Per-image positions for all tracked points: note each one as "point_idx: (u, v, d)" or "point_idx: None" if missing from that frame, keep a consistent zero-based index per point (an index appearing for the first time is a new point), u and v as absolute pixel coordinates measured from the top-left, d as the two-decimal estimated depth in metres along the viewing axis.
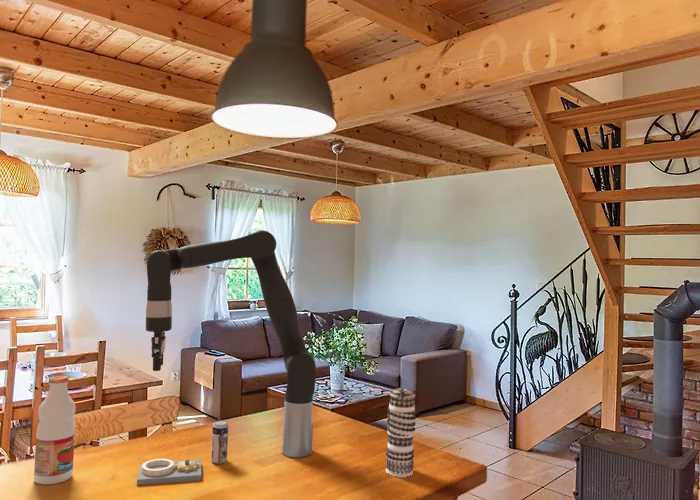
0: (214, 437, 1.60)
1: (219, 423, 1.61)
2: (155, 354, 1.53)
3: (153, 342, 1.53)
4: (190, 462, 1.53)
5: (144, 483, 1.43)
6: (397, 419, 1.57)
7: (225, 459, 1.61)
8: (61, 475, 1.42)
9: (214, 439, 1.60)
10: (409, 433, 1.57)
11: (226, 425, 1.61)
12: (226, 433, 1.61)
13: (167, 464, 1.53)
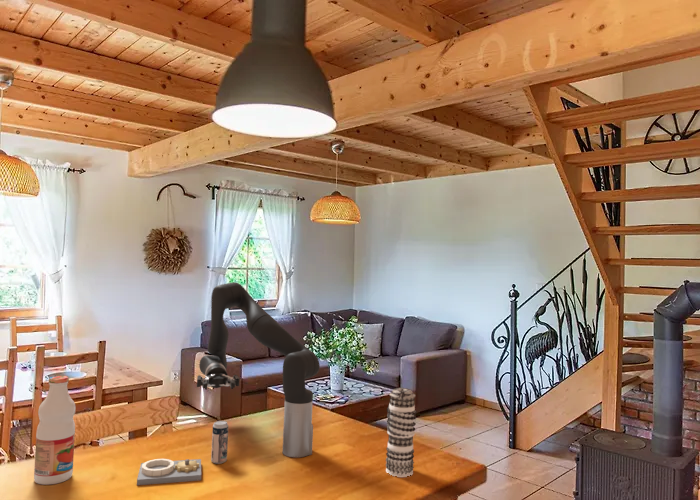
0: (214, 437, 1.60)
1: (219, 423, 1.61)
2: None
3: None
4: (190, 462, 1.53)
5: (144, 483, 1.43)
6: (397, 419, 1.57)
7: (225, 459, 1.61)
8: (61, 475, 1.42)
9: (214, 439, 1.60)
10: (409, 433, 1.57)
11: (226, 425, 1.61)
12: (226, 433, 1.61)
13: (167, 464, 1.53)
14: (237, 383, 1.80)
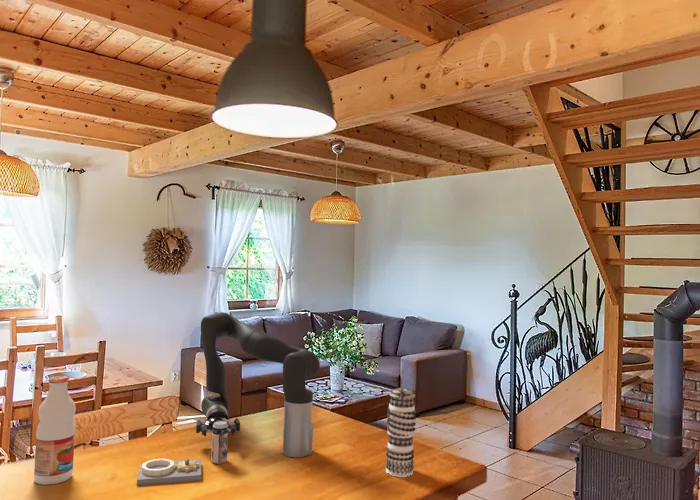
0: (214, 437, 1.60)
1: (219, 423, 1.61)
2: None
3: None
4: (190, 462, 1.53)
5: (144, 483, 1.43)
6: (397, 419, 1.57)
7: (225, 459, 1.61)
8: (61, 475, 1.42)
9: (214, 439, 1.60)
10: (409, 433, 1.57)
11: (226, 425, 1.61)
12: (226, 433, 1.61)
13: (167, 464, 1.53)
14: (238, 428, 1.74)
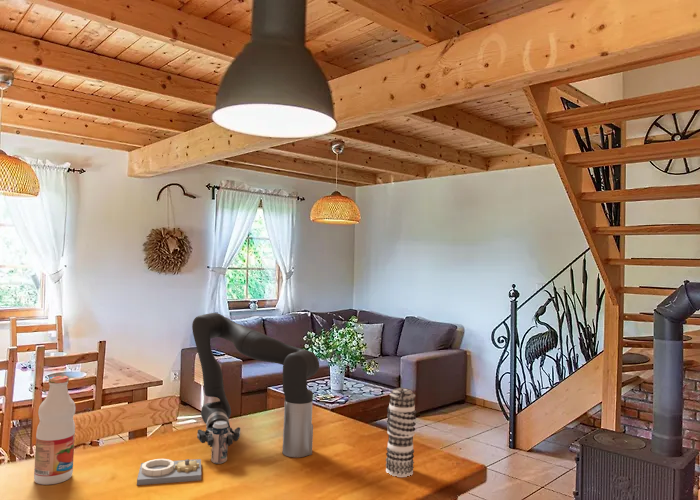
0: (214, 437, 1.60)
1: (219, 423, 1.61)
2: (201, 439, 1.62)
3: (198, 437, 1.65)
4: (190, 462, 1.53)
5: (144, 483, 1.43)
6: (397, 419, 1.57)
7: (225, 459, 1.61)
8: (61, 475, 1.42)
9: (214, 439, 1.60)
10: (409, 433, 1.57)
11: (226, 425, 1.61)
12: (227, 433, 1.61)
13: (167, 464, 1.53)
14: (234, 438, 1.65)
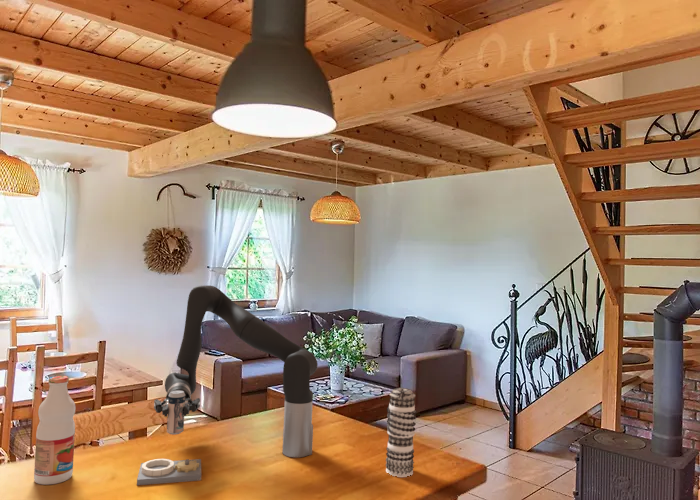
0: (169, 407, 1.52)
1: (175, 392, 1.53)
2: None
3: (154, 407, 1.58)
4: (190, 462, 1.53)
5: (144, 483, 1.43)
6: (397, 419, 1.57)
7: (181, 430, 1.53)
8: (61, 475, 1.42)
9: (170, 409, 1.52)
10: (409, 433, 1.57)
11: (182, 394, 1.53)
12: (183, 403, 1.53)
13: (167, 464, 1.53)
14: (192, 408, 1.57)
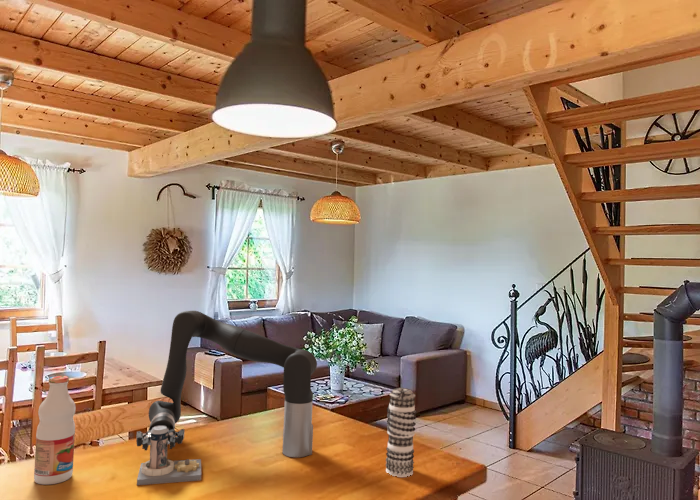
0: (152, 443, 1.48)
1: (158, 428, 1.50)
2: None
3: (136, 439, 1.54)
4: (190, 462, 1.53)
5: (144, 483, 1.43)
6: (397, 419, 1.57)
7: (164, 467, 1.49)
8: (61, 475, 1.42)
9: (152, 446, 1.48)
10: (409, 433, 1.57)
11: (165, 430, 1.49)
12: (166, 439, 1.49)
13: (167, 464, 1.53)
14: (178, 441, 1.53)
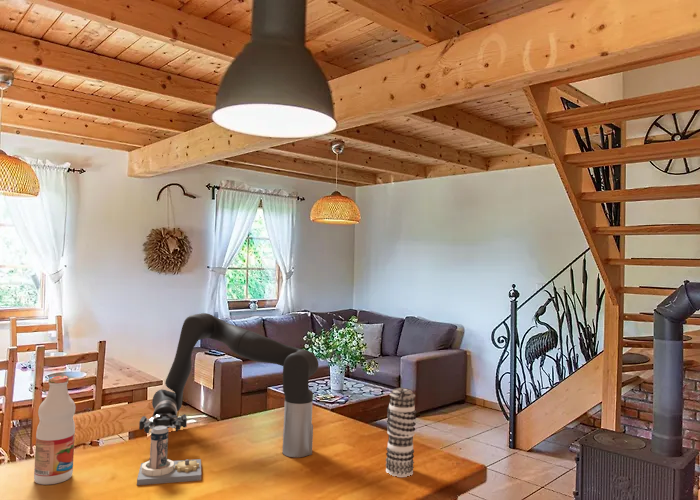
0: (152, 443, 1.48)
1: (158, 428, 1.50)
2: None
3: None
4: (190, 462, 1.53)
5: (144, 483, 1.43)
6: (397, 419, 1.57)
7: (164, 467, 1.49)
8: (61, 475, 1.42)
9: (152, 445, 1.48)
10: (409, 433, 1.57)
11: (165, 430, 1.50)
12: (166, 439, 1.50)
13: (167, 464, 1.53)
14: (184, 424, 1.67)
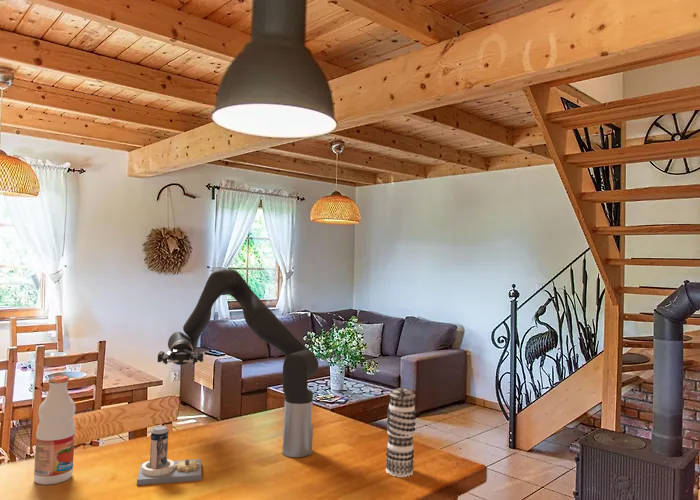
0: (152, 443, 1.48)
1: (158, 428, 1.50)
2: None
3: None
4: (190, 462, 1.53)
5: (144, 483, 1.43)
6: (397, 419, 1.57)
7: (164, 467, 1.49)
8: (61, 475, 1.42)
9: (152, 445, 1.48)
10: (409, 433, 1.57)
11: (165, 430, 1.50)
12: (166, 439, 1.50)
13: (167, 464, 1.53)
14: (201, 358, 1.71)
